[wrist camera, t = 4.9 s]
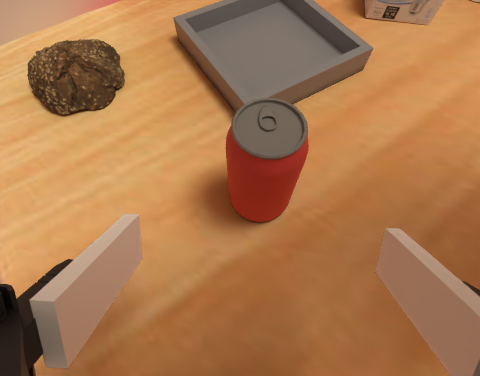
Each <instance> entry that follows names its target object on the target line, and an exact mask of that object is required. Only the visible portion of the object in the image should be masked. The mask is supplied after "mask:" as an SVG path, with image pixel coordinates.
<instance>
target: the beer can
mask: <svg viewBox="0 0 480 376" xmlns="http://www.w3.org/2000/svg"><path fill="white" fill-rule="evenodd" d="M307 134H308V126H307V121H306V119H305V117H304V115H303V114H302V113H301V112H300V111H299V110H298V109H297V108H296V107H295V106H294V105H292V104H290V103H288V102H286V101H284V100H280V99H276V98H260V99H256V100H252V101H250V102H248V103H246V104H244V105H243V106H242V107H241V108H239V109H238V110H237V111H236V113H235V115H234V117H233V119H232V125H231V127H230V129H229V131H228V134H227V137H226V158H227V171H228V184H229V197H230V200H231V203H232V206H233V207H234V209H235V210H236V211H237V213H239V214H240V215H241V216H243V217H244V218H246V219H249V220H252V221H259V222H265V221H269V220H272V219H275V218H276V217H278V216H279V215H281V214H282V213H283V211H284V210H285V209H286V207H287V205H288V203H289V200H290V198H291V195H292V193H293V190H294V188H295V185H296V183H297V180H298V178H299V175H300V173H301V170H302V168H303V165H304V163H305V160H306V156H307V153H308V135H307Z"/></svg>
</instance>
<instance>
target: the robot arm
mask: <svg viewBox="0 0 480 376" xmlns="http://www.w3.org/2000/svg"><path fill="white" fill-rule="evenodd" d="M142 259H143V257H142V244H141V232H140V219H139V214H124V215H123V216H122V217H121V218H120V219H118V220H117V221H116V222H115V223H114V224H113V225H112V226H111V227H110V228H109V229H107V230H106V231H105V232H104V233H103V234H102V235H101V236H100V237H99V238H97V239H96V240H95V241H94V242H93V243H92V244H91V245H90V246H89V247H88V248H86V249H85V250H84V251H83V252H82V253H81V254H80V255H79V256H78V257H76V258H75V259H74V260H72V259H68V260H66V261H64V262H62V263H60V264H58V265H56V266H55V267H54V268H52V269H51V270H50V271H49V272H48V273H46V275H45V276H43V277H42V278H41V279H39V280H38V282H37V283H35V284H34V285H32V286H31V287H30V288H29V289H28V290H26V291H25V292H24V293H23V294H22V295H21V296H19V297H18V298H17V299H16V295H15V292H14V289H13V287H12V286H11V285H8V284H0V376H36V374H35V369H34V364H35V363H36V361H37V360H38V359H39V358H40V356H41V355H42V354H43V358H44V362H45V367H49V368H64V369H68V368H69V367H70V365H71V364H72V362H73V361H74V359H75V358H76V356H77V355H78V353H79V352H80V350H81V349H82V347H83V346H84V345H85V343H86V342H87V340H88V339H89V337H90V336H91V334H92V333H93V331H94V330H95V328H96V327H97V325H98V324H99V322H100V321H101V319H102V318H103V317H104V315H105V314H106V312H107V311H108V309H109V308H110V306H111V305H112V303H113V302H114V300H115V299H116V297H117V296H118V294H119V293H120V291H121V290H122V289H123V287H124V286H125V284H126V283H127V281H128V280H129V278H130V277H131V275H132V274H133V272H134V271H135V269H136V268H137V266H138V265H139V263H140V262H141V261H142ZM375 273H376V274H377V276H378V277H379V278H380V280H381V281H382V282H383V284H384V285H385V287H386V288H387V289H388V291H389V292H390V294H391V295H392V296H393V298H394V299H395V300H396V302H397V303H398V305H399V306H400V307H401V309H402V310H403V311H404V313H405V314H406V316H407V317H408V318H409V320H410V321H411V322H412V324H413V325H414V327H415V328H416V329H417V331H418V332H419V333H420V335H421V336H422V338H423V339H424V340H425V342H426V343H427V345H428V346H429V347H430V349H431V350H432V351H433V353H434V354H435V356H436V357H437V358H438V360H439V361H440V362H441V364H442V365H443V367H444V368H445V369H446V371H447V372H448V373H449V375H450V376H480V290H478V289H477V288H475V287H473V286H471V285H470V284H468V283H466V282H464V281H461V280H460V279H458V278H457V277H456V276H455V275H454V274H453V273H451V272H450V271H449V270H448V269H447V268H446V267H444V266H443V265H442V264H441V263H440V262H439V261H437V260H436V259H435V258H434V257H433V256H432V255H430V254H429V253H428V252H427V251H426V250H425V249H423V248H422V247H421V246H420V245H419V244H418V243H416V242H415V241H414V240H413V239H412V238H411V237H409V236H408V235H407V234H406V233H405V232H404V231H402V230H401V229H399V228H385V232H384V236H383V240H382V245H381V249H380V253H379V258H378V262H377V266H376V271H375Z"/></svg>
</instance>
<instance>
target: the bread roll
mask: <svg viewBox="0 0 480 376" xmlns="http://www.w3.org/2000/svg"><path fill="white" fill-rule="evenodd" d="M119 61H120V56H119V55H118V54H117V53H116V51H115V49H114V48H113V47H111V45H109V44H107V43H105V42H104V41H100V40H96V39H95V40H93V39H92V40H91V39H90V40H78V41H68V40H67V41H63V42H58V43H55V44H54V45H52V46H51V47H45V48H44V49H43V50H41V51H36V56H33V58H32V60H30V61H29V63H28V75H27V76H28V79H29V83H30V86H31V88H32V89H33V91H32V93H33V94H34V95H35V96H38V98H39V99H40V101H41V102H42V103H44V104H45V106H46V107H47V108H48V109H49V110H50V111H52V112H54V113H57V114H59V115H68V114H71V113H74V112H77V111H79V110H82V109H91V110H99V109H103V108H105V107H107V106H108V105H109V104H110V103H111V102H112V101H113V99H114V97H115V95H116V94H115V91H116V90H118V89H120V88H121V87H122V86H123V85H124V81H125V80H124V71H123V70H122V69H121V67H120V62H119Z"/></svg>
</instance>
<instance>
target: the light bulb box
mask: <svg viewBox="0 0 480 376" xmlns="http://www.w3.org/2000/svg"><path fill="white" fill-rule="evenodd" d="M364 1H365V17H366V18H372V19H380V20H389V21H398V22H406V23H415V24H423V25H429V23H430V22H431V20H432V19H433V17H434V16H435V14H436V13H437V11H438V10H439V8H440V7H441V5H442V3H443V2H444V0H364Z"/></svg>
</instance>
